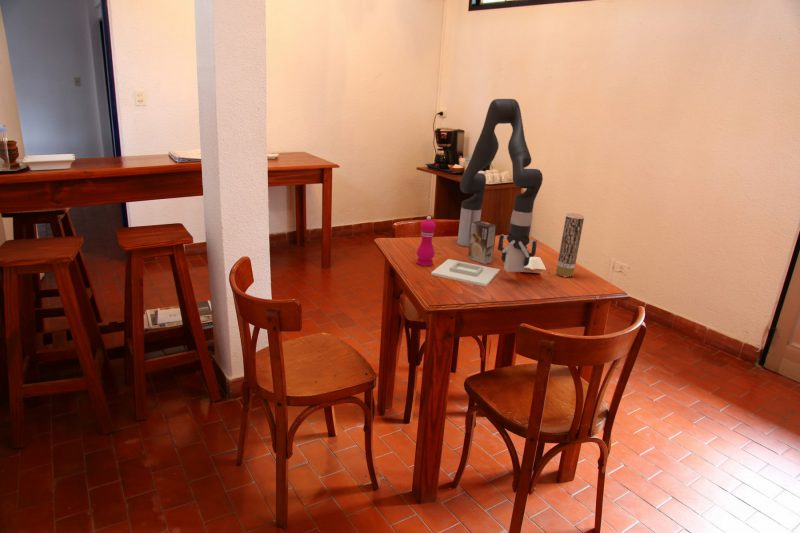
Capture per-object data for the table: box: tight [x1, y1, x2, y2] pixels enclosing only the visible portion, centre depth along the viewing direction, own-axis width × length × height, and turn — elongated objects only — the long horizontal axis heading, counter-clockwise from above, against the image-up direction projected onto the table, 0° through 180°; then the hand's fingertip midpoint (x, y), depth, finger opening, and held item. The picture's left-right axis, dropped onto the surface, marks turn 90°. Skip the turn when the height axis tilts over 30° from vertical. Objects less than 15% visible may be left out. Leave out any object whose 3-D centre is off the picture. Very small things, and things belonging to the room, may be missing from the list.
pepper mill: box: [416, 215, 437, 267], centre depth 216 cm, size 7×7×20 cm
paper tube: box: [555, 212, 585, 278], centre depth 214 cm, size 7×7×25 cm
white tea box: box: [503, 245, 526, 273], centre depth 205 cm, size 4×7×10 cm, turn 103°
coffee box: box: [467, 220, 498, 265], centre depth 227 cm, size 9×6×16 cm
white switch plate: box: [430, 258, 501, 287], centre depth 212 cm, size 20×22×2 cm
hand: (514, 263), depth 205 cm, fingers closed on white tea box, 7 cm apart
